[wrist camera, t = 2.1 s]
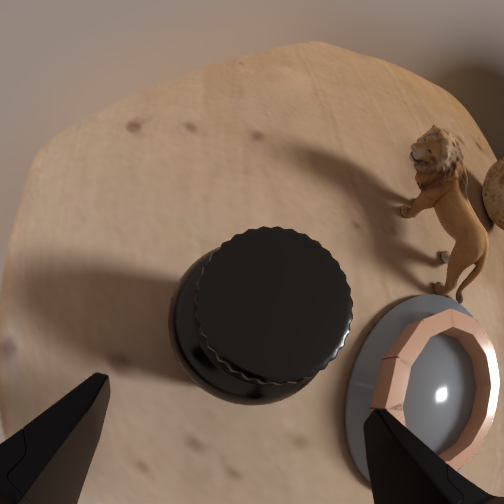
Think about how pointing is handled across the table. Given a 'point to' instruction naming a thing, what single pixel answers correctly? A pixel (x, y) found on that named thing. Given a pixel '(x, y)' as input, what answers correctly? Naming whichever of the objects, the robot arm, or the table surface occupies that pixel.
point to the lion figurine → (448, 205)
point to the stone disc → (495, 193)
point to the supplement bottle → (260, 316)
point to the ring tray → (425, 379)
